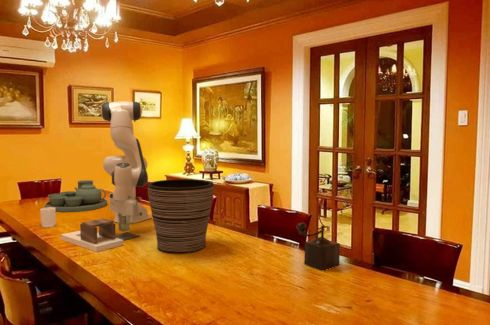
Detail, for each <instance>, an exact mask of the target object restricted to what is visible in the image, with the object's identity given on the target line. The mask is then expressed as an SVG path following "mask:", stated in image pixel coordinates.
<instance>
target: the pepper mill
mask: <svg viewBox="0 0 490 325" xmlns="http://www.w3.org/2000/svg"><path fill="white" fill-rule="evenodd" d="M306 228H307V225H306V223H304V222H299V223H297V225H296V229H297V230H298V234H299V236H300V235H301V236H304V237H308V238H310V237H315V238H312V239H310V240H308V241H307V240H306V241H304V262H303V264H304V265H306V266H307V267H310V268H313V269H315V268H316V270H318V269H319V270H320V271H322V270H324V271H327V270H326V269H328V270H330V269H329V268H331V269H333V268H332V267H334V268H336V267H335V266H337V267H338V265H339V266H340V252H341V251H340V249H341V248H340V246H341V244H340V243H338V242H336V241H333V240H329V239H328V238H325V237H324V234H325V226H324V225H323V224H322V225H321V227H320V230H319V231H317V232H315V233H311V234H309V233H308V234H307V232H306ZM319 234H321V236H320V237H318V235H319Z"/></svg>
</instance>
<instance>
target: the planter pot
mask: <svg viewBox="0 0 490 325" xmlns="http://www.w3.org/2000/svg"><path fill="white" fill-rule="evenodd" d="M214 188H215V183H214V182H213V181H210V180H206V179H204V180H203V179H196V178H195V179H193V178H192V179H190V178H189V179H187V178H186V179H185V178H183V179H181V178H180V179H179V178H177V179H162V180H161V179H160V180H156V181H152V182H149V183H147V194H148V200H149V201H148V202H149V206H150V211H151V216H152V220H153V225H154V230H155V237H156V244H157V246H156V247H157V250H158V251H159V252H162V253H165V254H171V255H187V254H192V253H193V254H194V253H197V252H200V251H202V250H204V249H205V248H206V247H207V246H206V245H207V244H206V242H207V240H206V239H207V231H208V225H209V220H210V215H211V210H212V204H213V198H214V191H215V190H214Z"/></svg>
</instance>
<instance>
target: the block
mask: <svg viewBox="0 0 490 325" xmlns="http://www.w3.org/2000/svg"><path fill="white" fill-rule="evenodd" d="M126 218H127V217H126V216H121V217H118V222H119V223H118V231H119V232H122V233H125V232H129V231H131V223H128V224H127V223H125V220H126Z"/></svg>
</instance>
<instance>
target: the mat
mask: <svg viewBox="0 0 490 325" xmlns="http://www.w3.org/2000/svg"><path fill="white" fill-rule="evenodd" d="M140 237H141V235H139V234H136V233H132V232H129V231H125V232H122V233H117V234H116V238H118V239H122V240H123V242H124V241H128V240H132V239H136V238H140Z"/></svg>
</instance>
